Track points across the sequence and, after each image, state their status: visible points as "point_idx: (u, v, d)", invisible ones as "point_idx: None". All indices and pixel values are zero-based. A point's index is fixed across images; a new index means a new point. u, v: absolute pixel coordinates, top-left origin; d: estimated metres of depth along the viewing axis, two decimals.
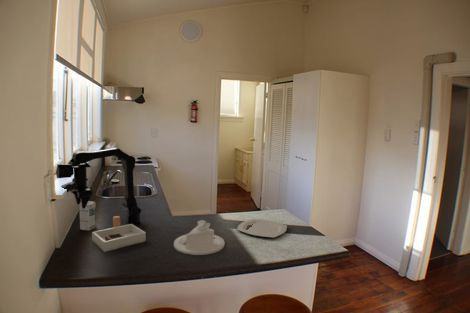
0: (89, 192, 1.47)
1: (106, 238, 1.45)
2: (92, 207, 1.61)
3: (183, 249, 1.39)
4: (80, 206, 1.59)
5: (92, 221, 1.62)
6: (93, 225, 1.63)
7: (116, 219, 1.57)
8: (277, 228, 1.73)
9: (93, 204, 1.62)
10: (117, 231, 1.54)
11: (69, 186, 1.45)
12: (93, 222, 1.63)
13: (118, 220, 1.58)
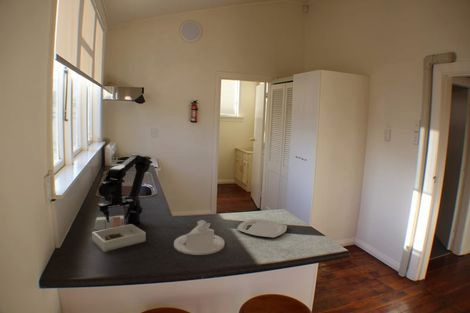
0: (99, 207, 1.51)
1: (106, 238, 1.45)
2: None
3: (183, 249, 1.39)
4: (120, 219, 1.64)
5: None
6: None
7: (116, 219, 1.57)
8: (277, 228, 1.73)
9: None
10: (117, 231, 1.54)
11: (104, 197, 1.59)
12: None
13: (118, 220, 1.58)
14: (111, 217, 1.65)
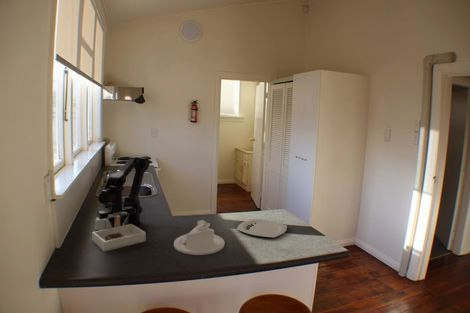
0: (99, 215, 1.51)
1: (106, 238, 1.45)
2: None
3: (183, 249, 1.39)
4: None
5: None
6: None
7: (116, 219, 1.57)
8: (277, 228, 1.73)
9: None
10: (117, 231, 1.54)
11: (104, 205, 1.60)
12: None
13: (118, 220, 1.58)
14: None
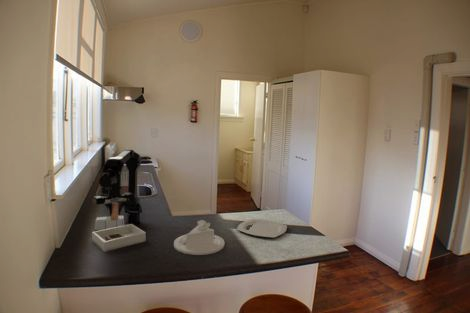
0: (95, 200, 1.39)
1: (106, 238, 1.45)
2: None
3: (183, 249, 1.39)
4: (120, 219, 1.64)
5: None
6: None
7: (114, 205, 1.45)
8: (277, 228, 1.73)
9: None
10: (117, 231, 1.54)
11: (101, 190, 1.48)
12: None
13: (116, 206, 1.46)
14: None
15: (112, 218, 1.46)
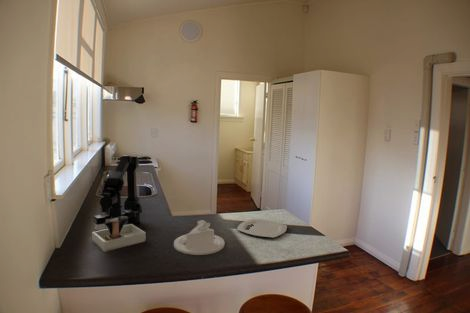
0: (95, 220, 1.38)
1: (106, 238, 1.45)
2: None
3: (183, 249, 1.39)
4: None
5: None
6: None
7: (114, 224, 1.44)
8: (277, 228, 1.73)
9: None
10: None
11: (101, 208, 1.46)
12: None
13: (116, 225, 1.44)
14: None
15: (113, 237, 1.44)
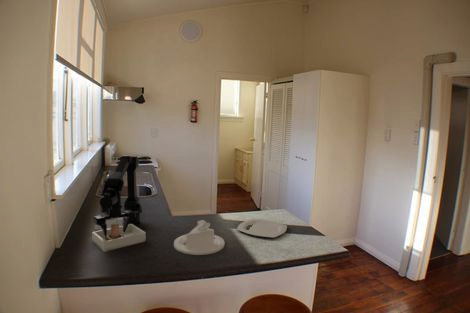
0: (95, 221, 1.38)
1: (106, 238, 1.45)
2: None
3: (183, 249, 1.39)
4: (120, 219, 1.64)
5: None
6: None
7: (114, 226, 1.44)
8: (277, 228, 1.73)
9: None
10: None
11: (101, 209, 1.46)
12: None
13: (117, 227, 1.45)
14: None
15: None
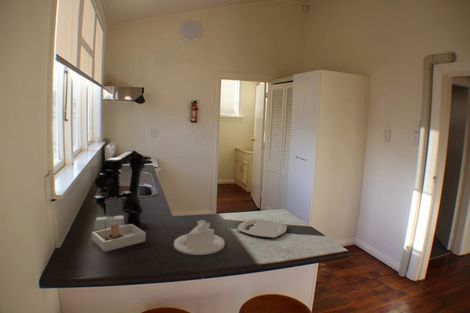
0: (95, 200, 1.45)
1: (106, 238, 1.45)
2: None
3: (183, 249, 1.39)
4: (120, 219, 1.64)
5: None
6: None
7: (114, 226, 1.44)
8: (277, 228, 1.73)
9: None
10: None
11: (100, 189, 1.54)
12: None
13: (116, 227, 1.45)
14: (111, 217, 1.65)
15: None
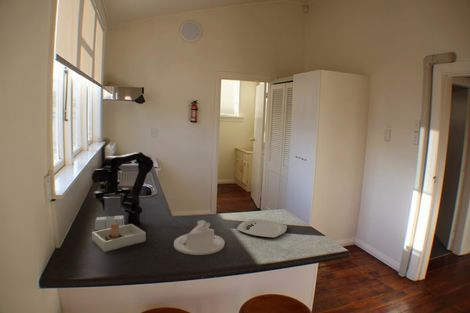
0: (94, 195, 1.52)
1: (106, 238, 1.45)
2: None
3: (183, 249, 1.39)
4: (120, 219, 1.64)
5: None
6: None
7: (114, 226, 1.44)
8: (277, 228, 1.73)
9: None
10: None
11: (99, 185, 1.60)
12: None
13: (116, 227, 1.45)
14: (111, 217, 1.65)
15: None
